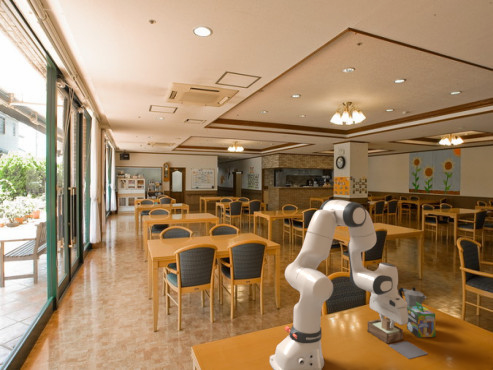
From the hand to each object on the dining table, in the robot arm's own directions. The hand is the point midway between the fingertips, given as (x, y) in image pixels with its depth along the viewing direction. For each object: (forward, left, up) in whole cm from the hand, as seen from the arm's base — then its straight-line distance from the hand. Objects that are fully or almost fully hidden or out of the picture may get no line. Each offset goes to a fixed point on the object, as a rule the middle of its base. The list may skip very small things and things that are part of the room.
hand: (387, 325), depth 142 cm
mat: (0, -12, -6) cm, 13 cm away
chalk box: (+19, -3, -6) cm, 20 cm away
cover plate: (0, +1, -2) cm, 3 cm away
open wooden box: (0, +1, -6) cm, 6 cm away
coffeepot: (+27, +9, -6) cm, 29 cm away
